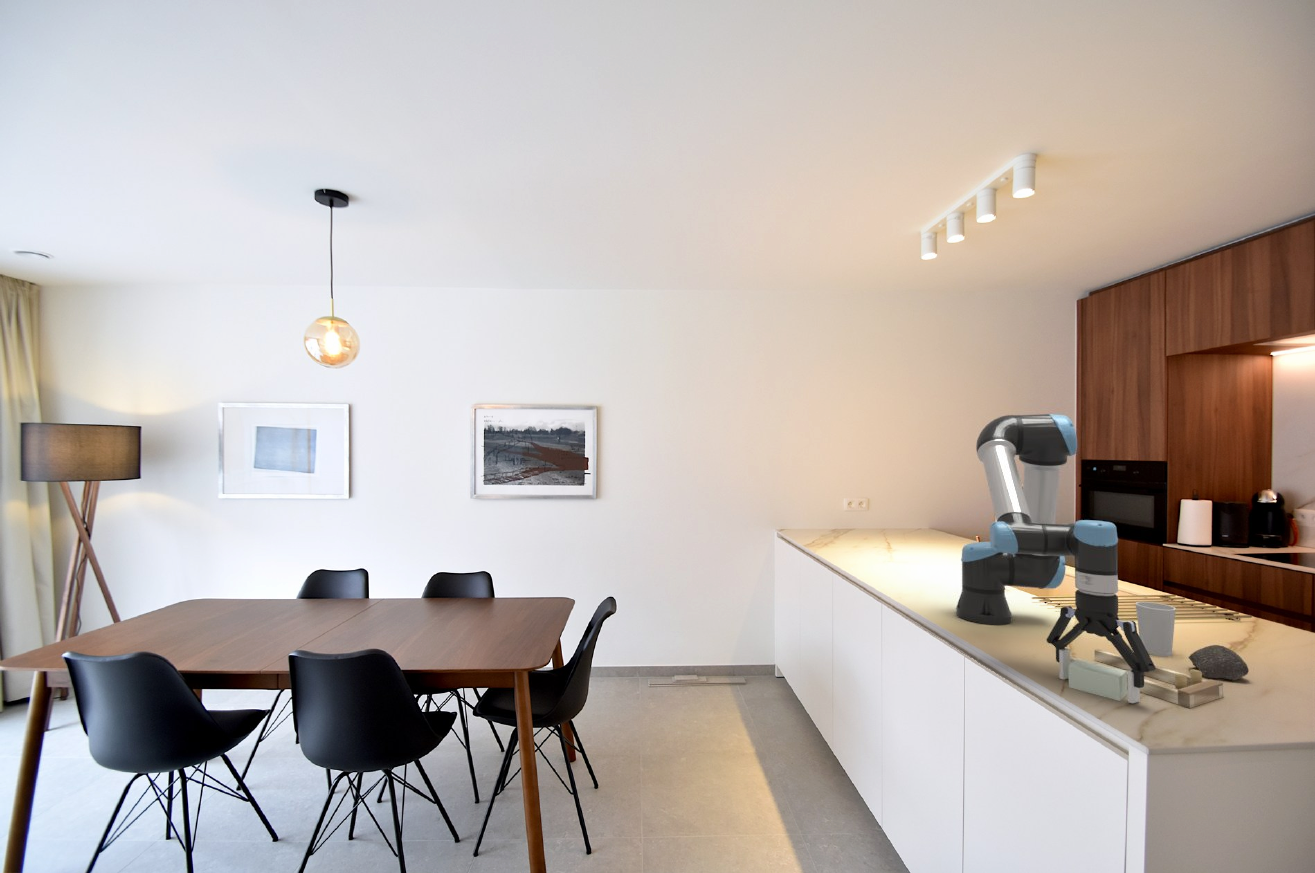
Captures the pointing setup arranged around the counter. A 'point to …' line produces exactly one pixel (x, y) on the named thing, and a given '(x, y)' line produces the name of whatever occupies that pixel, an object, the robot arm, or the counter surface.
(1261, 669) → the counter surface
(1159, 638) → the cup
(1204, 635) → the counter surface
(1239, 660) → the stone
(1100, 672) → the block
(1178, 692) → the wooden u-shaped frame
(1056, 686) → the counter surface
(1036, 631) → the counter surface
